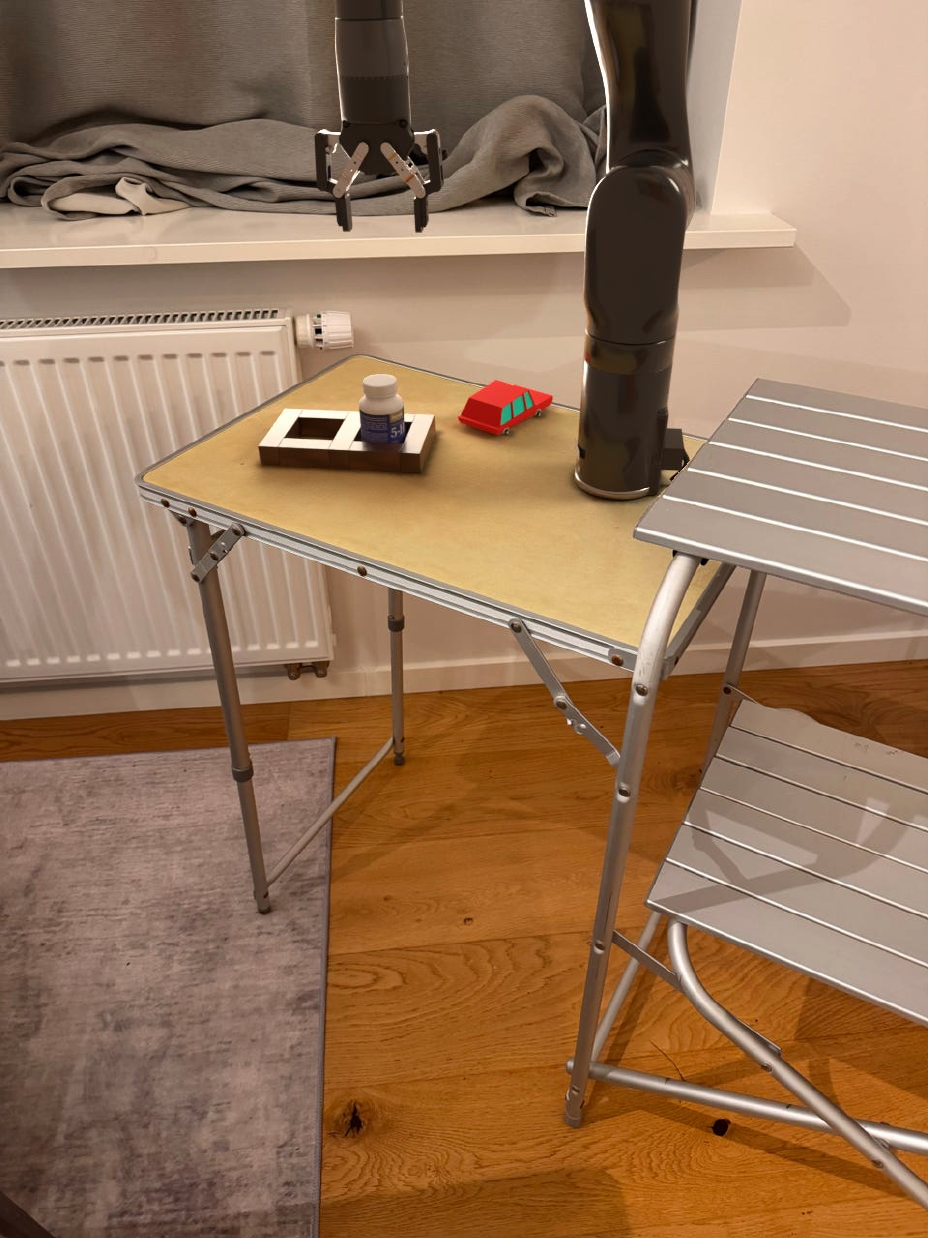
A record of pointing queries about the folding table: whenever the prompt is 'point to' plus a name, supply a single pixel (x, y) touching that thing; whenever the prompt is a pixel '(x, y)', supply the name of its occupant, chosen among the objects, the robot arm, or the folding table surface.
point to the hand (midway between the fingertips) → (383, 230)
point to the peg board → (344, 442)
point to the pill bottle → (381, 410)
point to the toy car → (502, 407)
